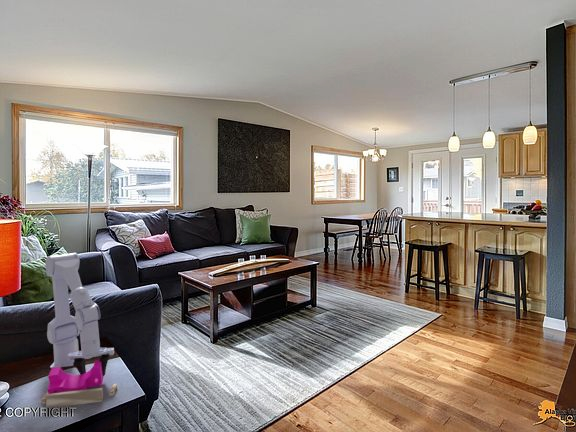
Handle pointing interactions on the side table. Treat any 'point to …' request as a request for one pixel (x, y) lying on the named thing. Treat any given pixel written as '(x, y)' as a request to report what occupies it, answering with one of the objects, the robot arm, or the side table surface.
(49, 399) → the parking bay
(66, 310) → the robot arm
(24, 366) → the side table surface
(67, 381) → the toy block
